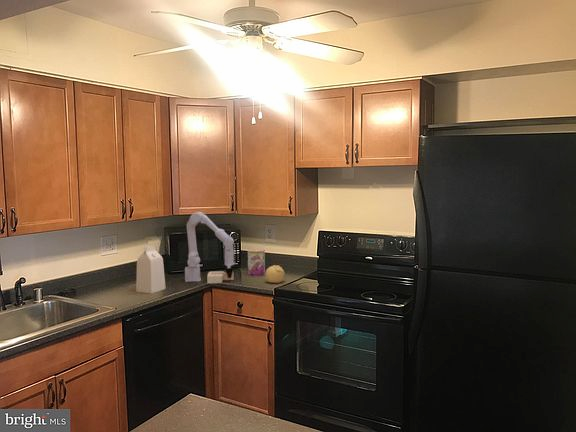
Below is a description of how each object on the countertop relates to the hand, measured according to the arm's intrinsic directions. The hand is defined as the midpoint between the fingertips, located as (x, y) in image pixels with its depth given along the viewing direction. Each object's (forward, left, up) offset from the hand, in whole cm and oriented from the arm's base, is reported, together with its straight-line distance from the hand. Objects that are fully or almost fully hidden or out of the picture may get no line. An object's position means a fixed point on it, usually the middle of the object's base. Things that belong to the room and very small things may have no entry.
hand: (229, 277), depth 298 cm
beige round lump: (+29, -9, -2) cm, 30 cm away
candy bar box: (+18, +15, -2) cm, 23 cm away
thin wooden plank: (-4, 0, -2) cm, 5 cm away
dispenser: (-9, 0, -2) cm, 9 cm away
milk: (-45, -19, -2) cm, 49 cm away
